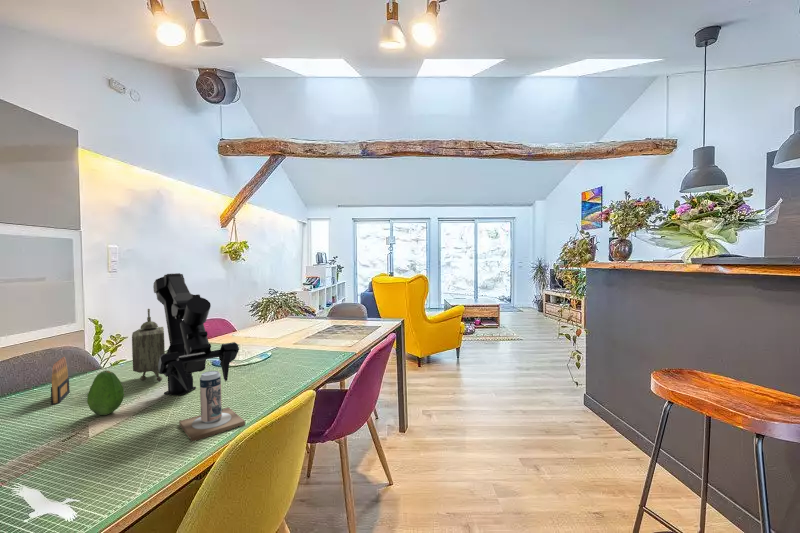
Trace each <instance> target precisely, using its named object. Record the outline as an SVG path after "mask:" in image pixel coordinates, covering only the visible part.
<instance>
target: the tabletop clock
mask: <svg viewBox="0 0 800 533" xmlns="http://www.w3.org/2000/svg"><path fill="white" fill-rule="evenodd" d="M150 314H151V309H150V308H147V317H146V320H147V321H145V322H143V323H142V324H141V326H140V328H139V329H136V330H134V331H133V332H132V334H131V352H132V354H131V356H132V370H133V371H132V372H135V373H139V374H142V375H141V376H140V378H139V379H140V381H144V380H146V378H147V377H146V373H148V372H153V373H154V374H155V375H156V376H155V377H156V381H158V382H161V381H162V380H163V377H162V376H160V374H159V370H158V363H159V359H160V356H161V355H162V354H165V352H166V349H165V347H166V346H165V331H164V326H159V325H158V323H156V321H153V320H152V317H151V315H150Z"/></svg>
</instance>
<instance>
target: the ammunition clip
mask: <svg viewBox="0 0 800 533" xmlns="http://www.w3.org/2000/svg"><path fill="white" fill-rule="evenodd" d="M68 372H69V369H68V365H67V359H66V357H65V356H63V357H61V358H60V359H59V360H57V361H55V363H53V366H52V372H51V387H50V402H51V404H50V405H51V406H52V405H58V404H60V403H62V402H63V400H65V398H66V397H67V396H68V395H69V394H70V393H71V392H70V377H69V373H68Z"/></svg>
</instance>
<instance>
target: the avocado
mask: <svg viewBox="0 0 800 533" xmlns="http://www.w3.org/2000/svg"><path fill="white" fill-rule="evenodd" d="M124 397H125V391H124V386H123V384H122V382H121V380H120V379H119V378H118V376H117V375H116V374H115V373H114V372H112V371H109V370H103V371H101V372H99V373H98V374H96V376H95V377H94V379H93V381H92V384H91V386H90V388H89V391H88V393H87V399H86V403H87V405H88V408H89V409H90V411H91V412H93V413H94V414H95V415H98V416H106V415H109V414H110V415H111V414H112V413H114V412H115V411H116V410H117V409H118V408H119V407H120V406H121V405H122V403H123V400H124Z"/></svg>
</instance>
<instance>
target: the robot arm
mask: <svg viewBox="0 0 800 533" xmlns="http://www.w3.org/2000/svg"><path fill="white" fill-rule="evenodd" d="M185 281H186V280H185V278H184V274H183V273H166V274H164V275H163V276H161V277H159V278H156V279H155V280H154V282H153V293H154V294H155V295H156V299H157V300H158V302H159V303H161V304H162V305H163V308H164V314H165V321H166V328H167V334H168V341H169V346H168V349H167V350H166V353H165V354H162V355H161V356H160V359H159V363H158V370H159V374H158V375H164V376H165V378H166V377H167V391H164V393H163V395H172V396H183V395H184V394H187V393H189V392H191V391H193V390H195V389H196V388H197V386H194V376H193V373H194V374H195V373H198V372H200V373H201V372H203V371H205V369H206V362H207V360H211V359H216V358H218V361H220V362H219V365H220V367H221V372H222V376H223V379H224V381H225V382H228V380H229V379H228V377H229V370H230V369H229V368H230V364H231V363H232V361H234V360H236V358H237V355H238V354H239V351H240V346H239V344H238V343H236V342H235V341H234V342H228V343H222V344H221V346H220V348H219V349H216V350H212V349H211V348H212V344H211V343H210V341H209V338H208V335H209V333H208V331H206V328H205V323H206V322H207V319H208V315H209V312H210V311H211V310H210V309H211V307H212V306H211V302H210V301H209V300H208V299H207V298H204V297H202V296H201V294H192V293H191V292H190V290H189V288H188V286H187V284H186V282H185Z"/></svg>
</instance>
